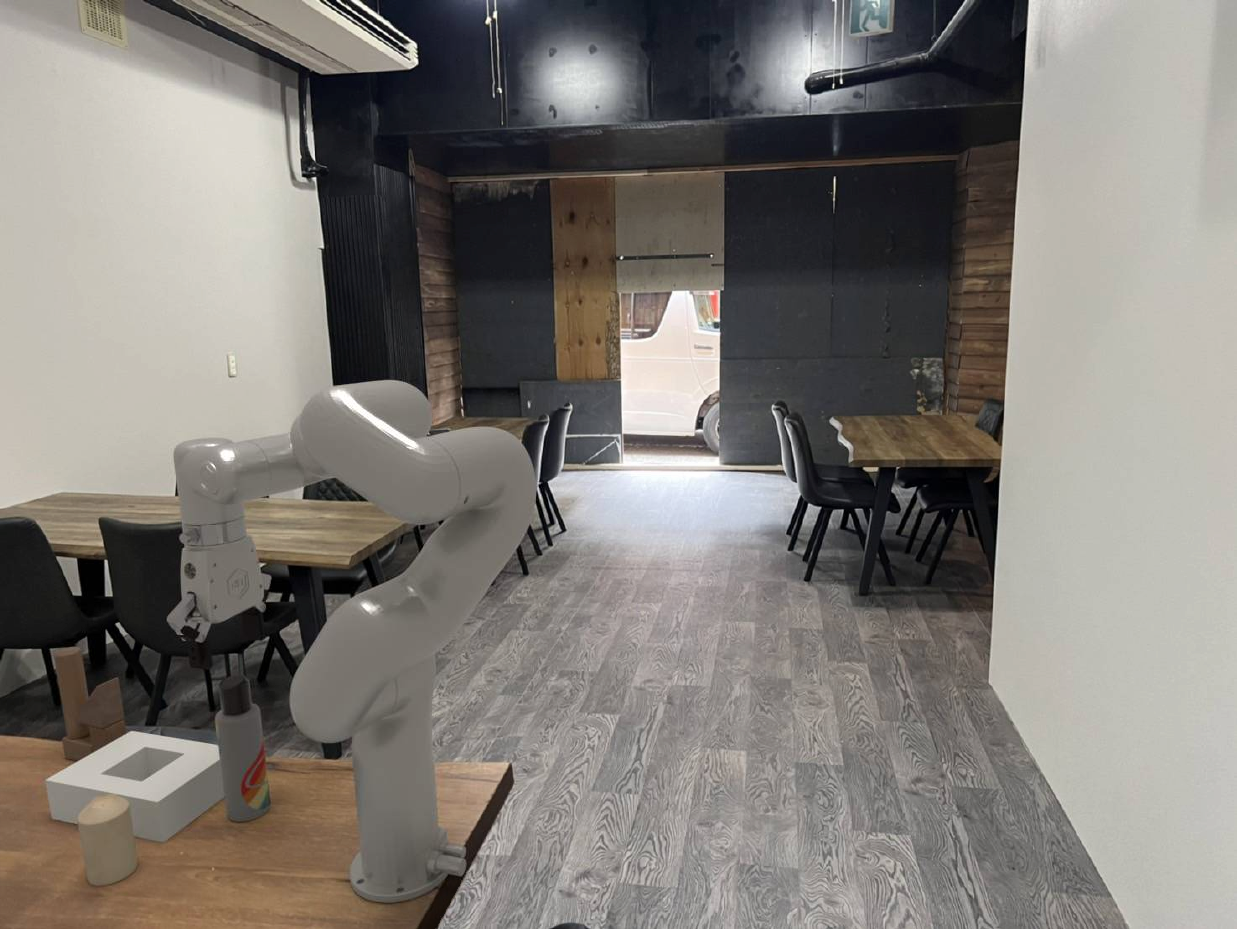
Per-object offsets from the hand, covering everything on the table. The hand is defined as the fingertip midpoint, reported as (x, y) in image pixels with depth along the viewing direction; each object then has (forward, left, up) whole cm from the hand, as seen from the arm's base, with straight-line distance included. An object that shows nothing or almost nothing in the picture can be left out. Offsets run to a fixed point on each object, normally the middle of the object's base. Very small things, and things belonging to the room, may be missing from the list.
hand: (229, 653), depth 110 cm
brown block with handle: (+34, -5, -24) cm, 42 cm away
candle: (+7, +15, -24) cm, 29 cm away
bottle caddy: (+16, +2, -24) cm, 29 cm away
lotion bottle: (0, 0, -24) cm, 24 cm away
